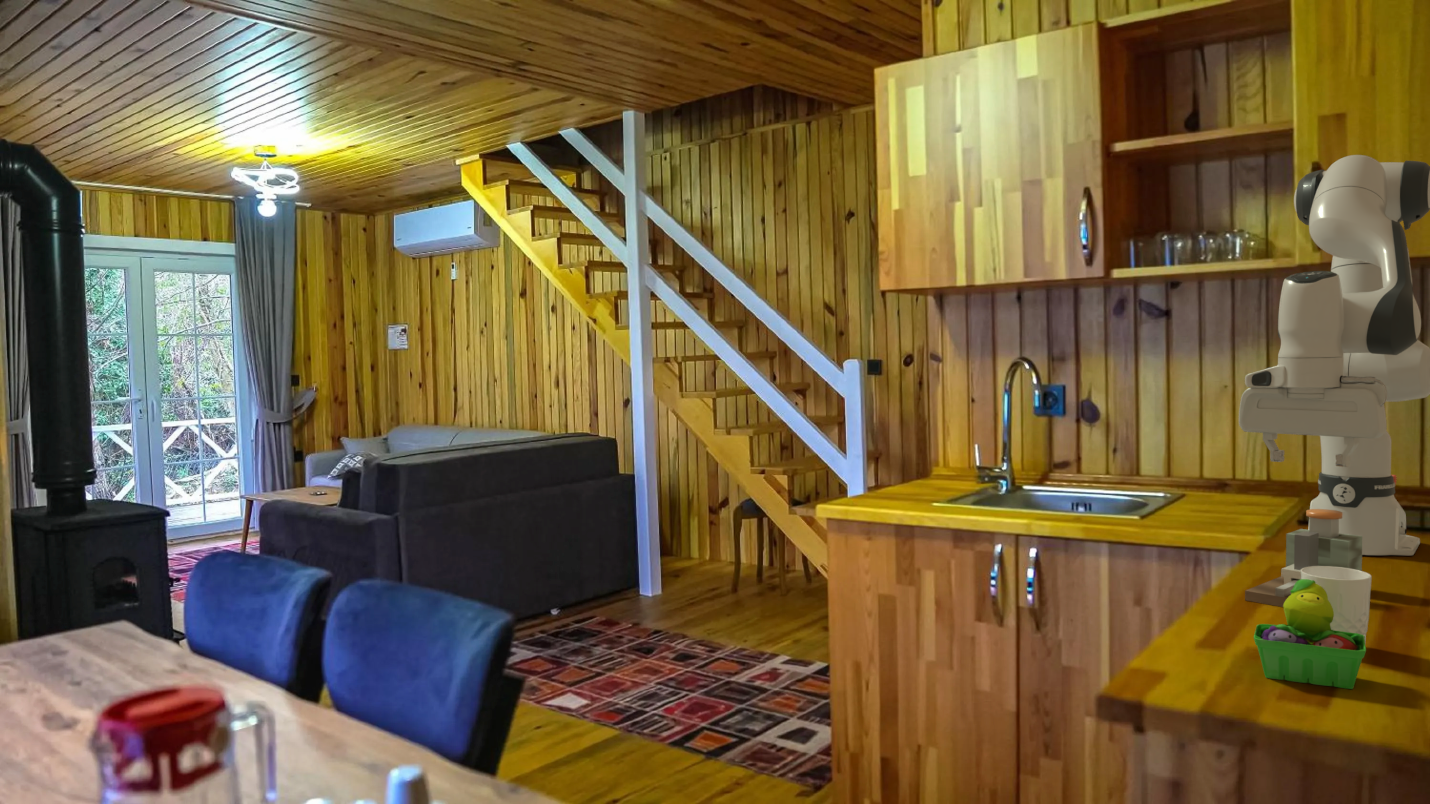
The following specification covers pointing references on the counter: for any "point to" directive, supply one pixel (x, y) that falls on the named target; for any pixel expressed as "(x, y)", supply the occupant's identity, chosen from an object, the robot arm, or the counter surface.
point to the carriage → (1302, 555)
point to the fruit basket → (1309, 642)
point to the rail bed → (1330, 553)
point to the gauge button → (1324, 522)
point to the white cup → (1344, 595)
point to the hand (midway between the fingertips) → (1309, 463)
